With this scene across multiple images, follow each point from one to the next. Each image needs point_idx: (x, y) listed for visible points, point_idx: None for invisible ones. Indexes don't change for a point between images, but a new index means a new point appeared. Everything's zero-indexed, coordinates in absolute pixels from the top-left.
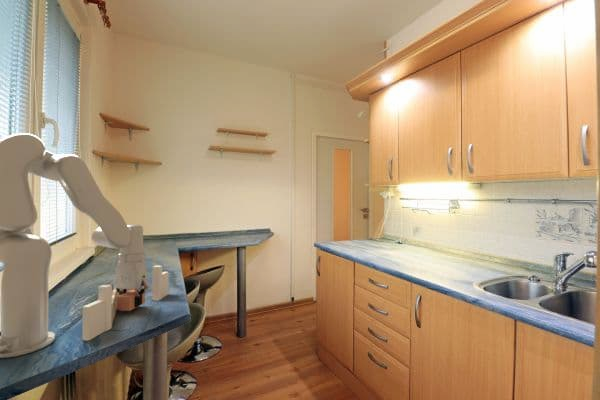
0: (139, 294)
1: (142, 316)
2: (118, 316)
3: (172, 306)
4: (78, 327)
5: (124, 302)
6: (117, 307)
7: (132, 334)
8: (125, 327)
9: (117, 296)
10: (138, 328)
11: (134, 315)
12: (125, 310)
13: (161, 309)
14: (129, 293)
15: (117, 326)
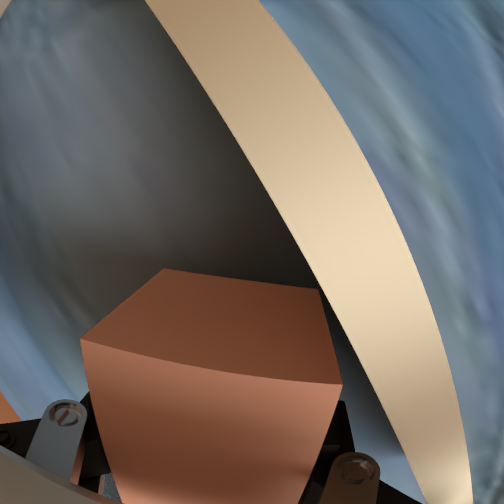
0: (48, 418)
1: (64, 233)
2: (263, 222)
3: (25, 386)
4: (439, 17)
5: (202, 315)
6: (316, 299)
7: (18, 6)
8: (76, 43)
9: (337, 384)
10: (11, 62)
11: (130, 250)
12: (212, 276)
13: (39, 352)
14: (218, 482)
15: (136, 37)
